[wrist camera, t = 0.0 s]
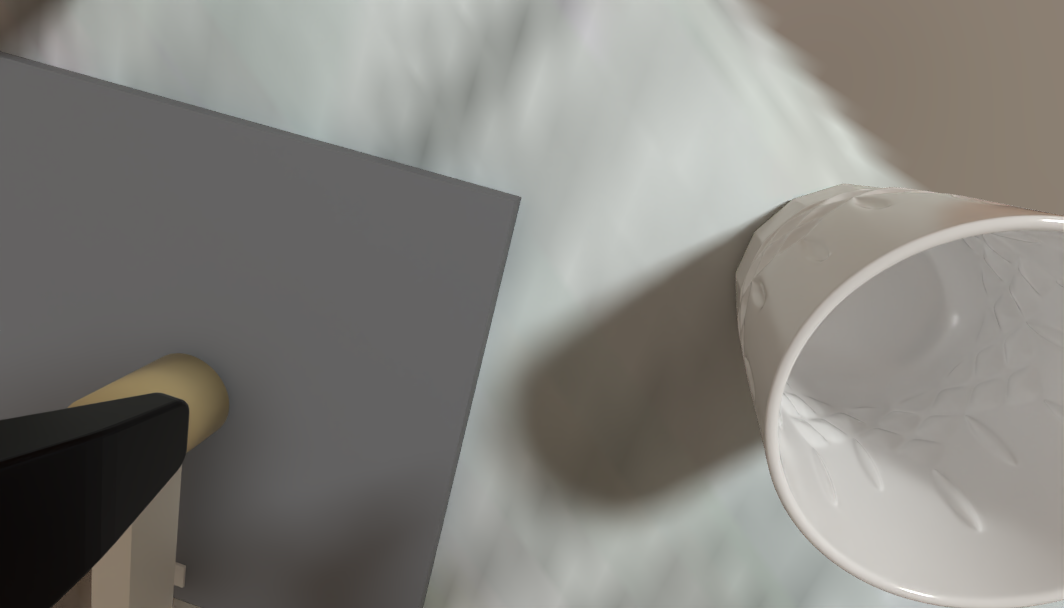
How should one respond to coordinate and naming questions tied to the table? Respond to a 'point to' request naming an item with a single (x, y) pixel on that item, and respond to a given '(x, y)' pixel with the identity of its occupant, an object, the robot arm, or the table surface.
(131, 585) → the beige and tan rod
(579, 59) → the table surface
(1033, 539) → the white cup
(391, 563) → the grey flat square plate
